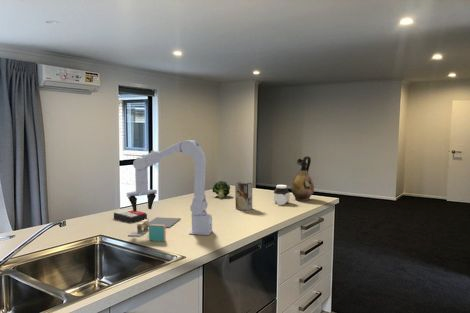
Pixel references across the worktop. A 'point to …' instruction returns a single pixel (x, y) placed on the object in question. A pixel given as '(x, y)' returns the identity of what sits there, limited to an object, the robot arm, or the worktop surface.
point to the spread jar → (281, 194)
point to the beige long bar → (140, 228)
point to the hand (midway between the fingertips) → (142, 210)
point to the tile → (157, 232)
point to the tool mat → (164, 221)
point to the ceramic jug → (303, 181)
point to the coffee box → (243, 195)
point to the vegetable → (221, 189)
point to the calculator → (130, 215)
